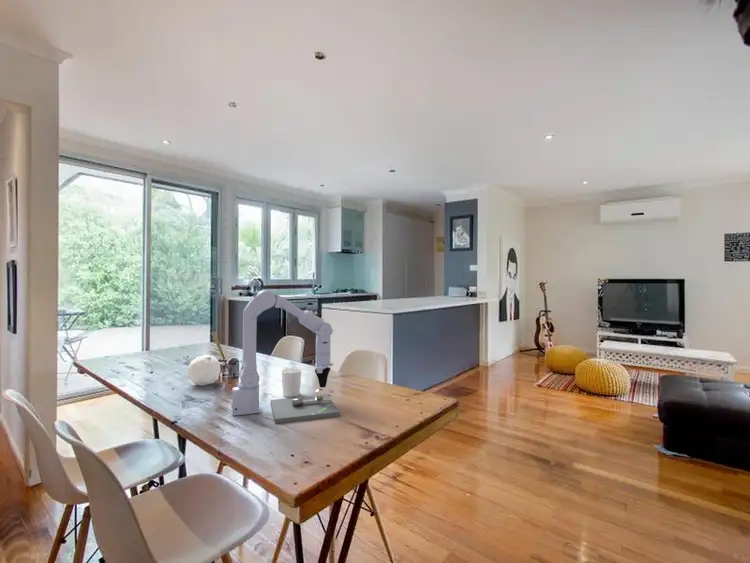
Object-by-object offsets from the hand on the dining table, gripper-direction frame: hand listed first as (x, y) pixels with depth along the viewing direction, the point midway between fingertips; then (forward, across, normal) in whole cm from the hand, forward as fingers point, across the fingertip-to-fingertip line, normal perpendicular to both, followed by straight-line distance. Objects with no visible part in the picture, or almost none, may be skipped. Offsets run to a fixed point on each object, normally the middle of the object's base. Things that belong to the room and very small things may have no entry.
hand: (322, 386), depth 147 cm
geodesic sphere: (+6, +18, +57) cm, 60 cm away
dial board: (+6, -10, +5) cm, 12 cm away
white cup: (+6, +7, +14) cm, 17 cm away
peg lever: (+4, -8, +3) cm, 9 cm away
